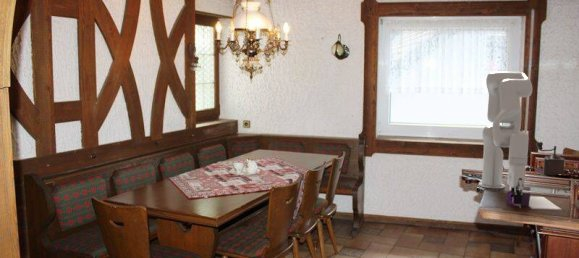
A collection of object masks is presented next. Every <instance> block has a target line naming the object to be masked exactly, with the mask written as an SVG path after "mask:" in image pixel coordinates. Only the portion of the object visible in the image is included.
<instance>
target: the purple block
mask: <svg viewBox="0 0 579 258" xmlns="http://www.w3.org/2000/svg"><path fill="white" fill-rule="evenodd" d="M511 194H513V195H515V192H510V190H508V191H507V199H506V206H516V207H519V208H520V209H521V208H522V207H529V200H530V196H531V193H530V192H523V191H522V202H521V204H514V203H513V201H514V197H511ZM510 199H512V201H510Z"/></svg>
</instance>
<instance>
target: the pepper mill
mask: <svg viewBox="0 0 579 258" xmlns="http://www.w3.org/2000/svg"><path fill="white" fill-rule="evenodd" d="M535 145H536V147H537V150H538V151H540V152H552V151H553V154H550V155H549V156H547V155H546V156H545V155H544V156H545V157H544V161H543V171H542V174H543V175H544V176H553V175H558V174H564V171H565V158H564V157H561V156H559V155H558V154H556V151H557V146H556V145H555V146H553V148H552V149H543V148H544V147H543V146H544V143H543V142H542V141H537V142H536V143H535Z"/></svg>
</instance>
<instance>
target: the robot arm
mask: <svg viewBox="0 0 579 258" xmlns="http://www.w3.org/2000/svg"><path fill="white" fill-rule="evenodd" d="M485 84H486V87H487V93H488V103H487V116H486V117H487V120H488V122H490V123H492V124H489V125H485V126H484V127H483V130H482V140H483V141H482V142H483V156H482V170H481V171H482V174H481V181H479V182H478V186H479V187H482V188H487V189H493V190H494V189H495V190H497V189H505V187H506V185H505V184H504V183H503V182H502V181H503V168H504V167H503V165H504V151H503V150H502V148H508V170H507V179H506V183H507V185H508V186H510V187H509V188H510V189H509V191H510V192H515V195H513V194H511V197H514V201H513V203H514V204H521V202H522V192H523V190H524V188H525V186H526V185H525V184H526V166H528V153H529V139H530V138H529V134H527V133H526V132H524V131H522V130H521V127H522V126H521V125H522V107H521V101H520V99H521V98H529V97H530V96H532V93H533V85H532V81H531V80H530V78H529V77H528V76H527V74H526V73H525V72H522V71H492V72H489V73H487V75H486V83H485ZM503 124H504V125H503ZM505 124H507V125H505ZM508 124H509V125H508ZM510 202H512V199H510ZM513 203H512V204H513Z"/></svg>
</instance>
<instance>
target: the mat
mask: <svg viewBox="0 0 579 258" xmlns="http://www.w3.org/2000/svg"><path fill="white" fill-rule="evenodd" d="M528 208H530V209H532V210H549V211H550V210H551V211H553V210H554V211H562V208H560V207H559V206H557V205H556V204H554V203H553V202H551V201H550V200H549V199H547V198H546V197H544V196H532V195H530V200H529V206H528Z"/></svg>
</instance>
